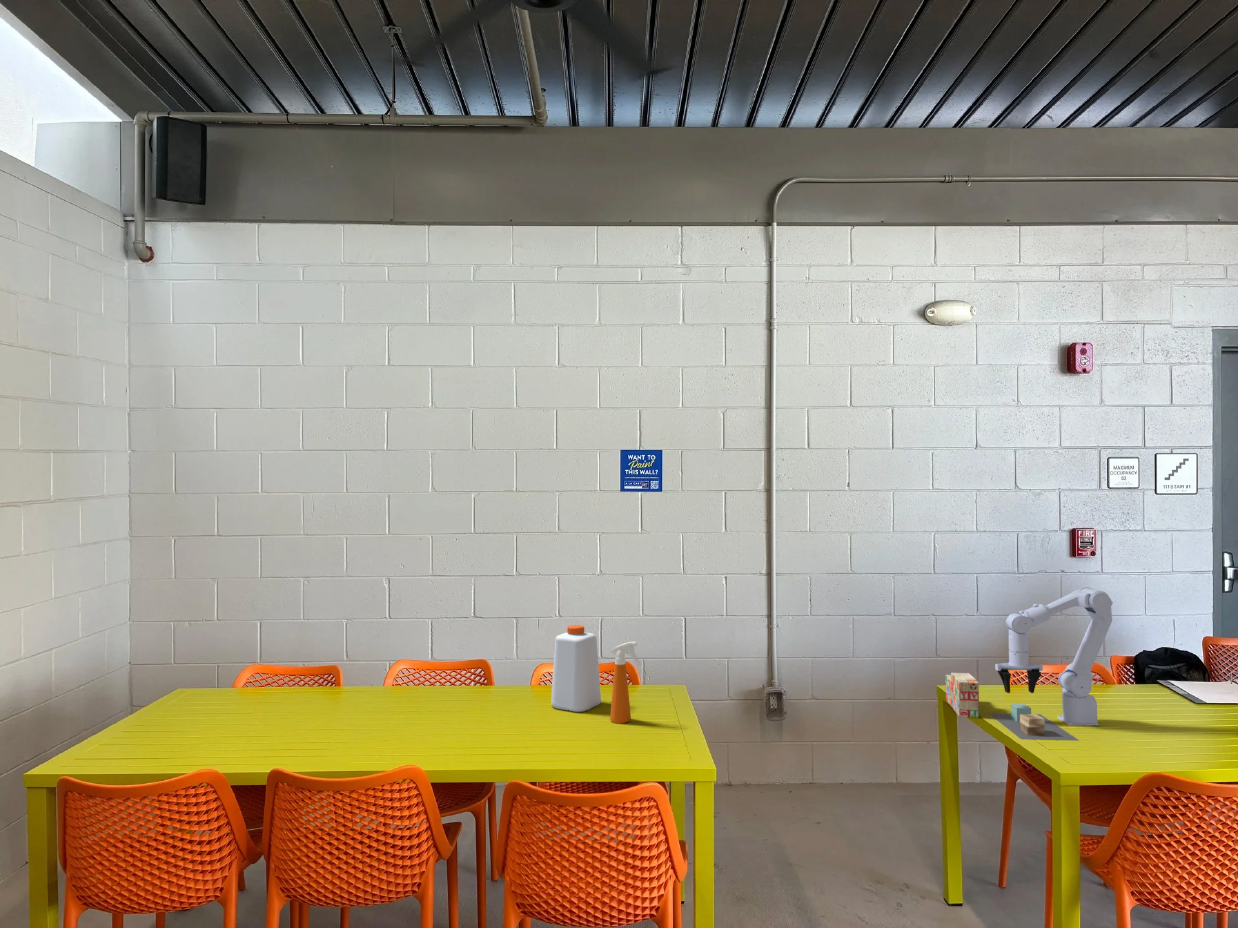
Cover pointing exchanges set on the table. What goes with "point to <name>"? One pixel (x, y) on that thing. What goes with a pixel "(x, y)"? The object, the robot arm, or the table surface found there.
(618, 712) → the spray bottle
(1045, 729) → the rubber mat
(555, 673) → the plastic bottle
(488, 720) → the table surface
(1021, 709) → the teal cube
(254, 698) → the table surface
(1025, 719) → the oak slab
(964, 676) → the stack of blocks
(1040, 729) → the walnut slab
